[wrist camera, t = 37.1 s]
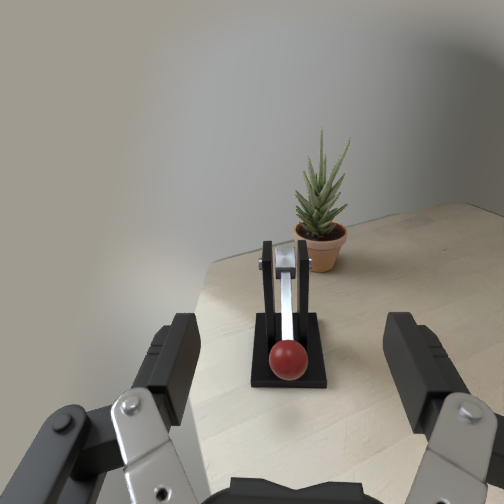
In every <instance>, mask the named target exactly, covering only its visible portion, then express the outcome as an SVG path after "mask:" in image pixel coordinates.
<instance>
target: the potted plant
mask: <svg viewBox="0 0 504 504" xmlns="http://www.w3.org/2000/svg"><path fill="white" fill-rule="evenodd" d="M349 143H350V139H349V140H348V142H347V144H346V146H345V148H344V150H343V151H342V153H341V155H340V157H339V159H338V161H337V163H336V165H335V166H334V168H333V169H332V170H331V172H330V174H329V177H328V179H327V181H326V154H325V157H324V162H323V130H322V129H321V136H320V147H319V171H318V181H317V174H315V173H314V170H313V168H312V164H311V161H310V158H309V157H308V168H309V174H310V179H311V184H312V186H311V184H310V182H309V181H308V179H307V176H306V174H305V172H304V171H303V176H304V180H305V184H306V187H307V191H308V194H309V196H308V197H309V202H308V201H307V200H305V199H304V198H303V197H302V196H301V195H300V194H299V193H298V192H297V191H296V194H297V195H296V197H297V199H298V201H299V203H300V204H301V206H302V207H303V209H304V210H305V212H306V213H305V212H303V211H302V210H301V209H300V208H299V207H298V206H296V207H297V209H298V210H299V211H298V210H297V209H296V211H297V212H298V213H299V214H300V215H298V214H297V216H298V217H299V218H300V219H301V220H303V222H299V224H297V225H296V226H295V227H294V231H293V233H294V240H295V241H296V242H297V245H298V240H306V242H307V249H308V255H309V256H311V257H312V269H309V270H310V271H313V272H326V271H328V270H330V269H332V268H333V266H334V263H335V261H336V258H337V256H338V253H339V251H340V249H341V246H342V245H343V244H344V243H345V241H346V237H347V229H346V228H345V227H344V226H343V225H342V224H339V223H337V222H334V221H332V220H333V218H334V217H335V216H336V215H337V214H339V213H340V212H341V211H342V210H343V209H344V208H345V207H346V206H347V204H346V205H344V206H343V207H341V208H340V209H338V208H336V209H334V210H332V211H330V212H329V209H330V208H331V207H332V205H333V204H334V203H335V201H336V200H337V199H338V197H339V195H340V193H341V192H339V193H338V194H337V195H336V196H335V193H336V191H337V190H338V188H339V186H340V184H341V182H342V180H343V178H344V175H345V174H344V175H343V176H342V177H341V179H340V180H339V181H338V182H337V183H336V184H335V186H333V187H332V182H333V180H334V178H335V176H336V174H337V172H338V170H339V167H340V165H341V163H342V160H343V158H344V156H345V154H346V151H347V149H348V146H349ZM331 187H332V188H331ZM334 196H335V197H334ZM337 209H338V210H337ZM336 210H337V211H336Z"/></svg>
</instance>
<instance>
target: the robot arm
mask: <svg viewBox="0 0 504 504" xmlns="http://www.w3.org/2000/svg"><path fill="white" fill-rule="evenodd" d="M200 348H201V340H200V334H199V330H198V325H197V321H196V316H195V314H194V313H177V314H176V315H175V317H174V319H173V321H172V324H171V325H170V326H169V325H168V326H163V327H162V328H161V329H160V330H159V331H158V332H157V333H156V334H155V336H154V338H153V341H152V343H151V347H149V349H148V352H147V355H146V356H145V358H144V361H143V363H142V365H141V367H140V370H139V372H138V374H137V376H136V378H135V381H134V383H133V385H132V387H131V389H129V390H127V391H125V392H124V393H122V394H121V395H120V396H119V397H118V398H117V399H116V400H115V402H114V403H113V404H112V405H109V406H106V407H103V408H99V409H95V410H92V411H88V412H85V409H84V408H83V407H82V406H80V405H68V406H65V407H62V408H61V409H58V410H57V411H56V412H54V413H53V414H52V415H50V416H49V417H48V418H47V420H46V421H45V422H44V424H43V425H42V427H41V429H40V431H39V432H38V434H37V435H36V437H35V439H34V440H33V442H32V444H31V446H30V447H29V449H28V451H27V452H26V454H25V456H24V457H23V459H22V461H21V462H20V464H19V466H18V468H17V469H16V471H15V473H14V474H13V476H12V478H11V479H10V481H9V483H8V484H7V486H6V488H5V490H4V491H3V493H2V495H1V496H0V504H96V501H97V498H98V496H99V492H100V490H101V487H102V485H103V482H104V479H105V476H106V474H107V472H108V471H111V470H114V469H117V468H120V467H123V466H124V467H125V468H124V469H123V471H124V477H125V480H126V484H127V488H128V492H129V495H130V499H131V503H132V504H199V503H198V501H197V498H196V496H195V494H194V492H193V489H192V487H191V484H190V482H189V480H188V478H187V475H186V473H185V470H184V468H183V466H182V463H181V461H180V459H179V456H178V454H177V452H176V449H175V447H174V445H173V442H172V441H171V439H170V437H169V431H170V427H171V426H180V425H181V421H182V417H183V414H184V410H185V406H186V402H187V399H188V395H189V391H190V388H191V384H192V380H193V376H194V373H195V369H196V365H197V362H198V358H199V354H200ZM383 350H384V355H385V357H386V360H387V363H388V365H389V368H390V371H391V374H392V376H393V379H394V382H395V385H396V387H397V390H398V393H399V395H400V398H401V401H402V404H403V406H404V409H405V412H406V414H407V417H408V420H409V423H410V425H411V428H412V431H413V433H414V434H425V436H426V438H427V441H428V445H427V447H426V450H425V453H424V455H423V458H422V460H421V463H420V466H419V468H418V471H417V473H416V476H415V479H414V481H413V484H412V486H411V489H410V492H409V494H408V497H407V499H406V502H405V504H485V501H486V496H487V490H488V485H487V484H486V483H488V484H491V485H494V486H496V487H499V488H502V489H504V416H501V415H498V414H496V413H494V412H493V411H492V410H491V408H490V407H489V406H488V405H487V404H486V403H484V402H483V401H482V400H480V399H478V398H477V397H475V396H472V395H471V394H470V392H469V390H468V389H467V387H466V385H465V384H464V382H463V380H462V378H461V377H460V375H459V373H458V372H457V370H456V368H455V366H454V365H453V363H452V361H451V360H450V358H448V354H447V353H446V351H445V349H444V348H443V346H442V344H441V343H440V341H439V339H438V337H437V336H436V334H434V333H433V332H432V331H431V330H430V329H429V328H428V327H426V326H425V325H417V324H416V322H415V320H414V318H413V316H412V315H411V313H410V312H389V313H388V316H387V320H386V326H385V331H384V336H383ZM201 504H383V503H382V502H380V501H379V500H377V499H375V498H373V497H371V496H369V495H366V494H364V492H363V487H362V483H352V482H329V481H328V482H325V483H321V484H317V485H313V486H310V487H306V488H302V489H298V490H294V489H290V488H288V487H285V486H282V485H279V484H276V483H273V482H270V481H268V480H265V479H260V478H237V477H231V482H230V488H226V489H223V490H221V491H219V492H217V493H215V494H213V495H212V496H210V497H209V498H207V499H206V500H205V501H204V502H203V503H201Z"/></svg>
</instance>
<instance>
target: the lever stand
mask: <svg viewBox="0 0 504 504" xmlns="http://www.w3.org/2000/svg"><path fill="white" fill-rule="evenodd" d="M309 269H312V257H311V256H309V255H308V249H307V242H306V240H298V262H297V313H292V314H293V337H294V341H296V342H298V343H300V344H301V345H302V346H303V347H304V349H305V350H306V353H307V356H308V365H307V369H306V371H305V372H304V374H303V375H302V376H301V377H299V378H297V379H295V380H284V379H281V378H279V377H278V376H277V375H275V374H274V372H273V371H272V369H271V367H270V364H269V355H270V351H271V349H272V348H273V346H274V345H275V344H276V343H278V342H279V341H282V316H281V313H275V300H274V278H273V256H272V241H264V242H263V252H262V258H259V270H262V271H263V286H264V301H265V313H256V324H255V336H254V348H253V360H252V371H251V387H287V388H326V387H327V379H326V373H325V366H324V360H323V353H322V347H321V341H320V334H319V328H318V321H317V315H316V313H308V294H309Z"/></svg>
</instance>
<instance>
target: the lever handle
mask: <svg viewBox="0 0 504 504" xmlns="http://www.w3.org/2000/svg"><path fill="white" fill-rule="evenodd" d="M275 270H276V279H281V316H282V341H279V342H278V343H276V344H275V345H274V346H273V348H272V349H271V351H270V355H269V364H270V367H271V369H272V371H273V372H274V374H275V375H277V376H278V377H279V378H281V379H284V380H295V379H297V378H299V377H301V376H302V375H303V374H304V372H305V371H306V369H307V365H308V356H307V353H306V350H305V349H304V347H303V346H302V345H301V344H300V343H298V342H296V341H294V337H293V314H292V292H291V279H295V274H296V264H295V247H276V248H275Z"/></svg>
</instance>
